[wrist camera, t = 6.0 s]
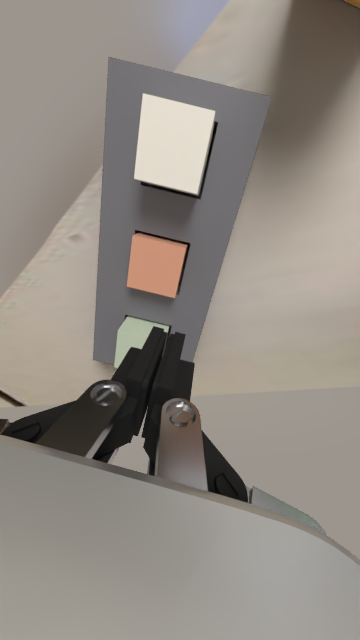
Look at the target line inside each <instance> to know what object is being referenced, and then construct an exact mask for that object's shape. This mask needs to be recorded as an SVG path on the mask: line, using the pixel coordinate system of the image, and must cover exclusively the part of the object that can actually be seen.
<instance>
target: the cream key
mask: <svg viewBox="0 0 360 640" xmlns="http://www.w3.org/2000/svg"><path fill="white" fill-rule="evenodd" d="M214 121H215V111H213V110H209V109H205V108H201V107H197V106H193V105H189V104H185V103H181V102H177V101H173V100H169V99H165V98H160V97H156V96H152V95H148V94H144V93H143V97H142V106H141V116H140V125H139V135H138V144H137V154H136V163H135V173H134V179H136V180H139V181H142V182H144V183H147V184H151V185H155V186H159V187H163V188H167V189H172V190H176V191H180V192H184V193H188V194H192V195H196V196H199V194H200V189H201V185H202V180H203V176H204V171H205V167H206V162H207V158H208V153H209V149H210V144H211V140H212V136H213V131H214Z"/></svg>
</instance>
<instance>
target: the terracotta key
mask: <svg viewBox="0 0 360 640" xmlns="http://www.w3.org/2000/svg"><path fill="white" fill-rule="evenodd" d="M188 245H189V243H187V242H183V241H179V240H175V239H171V238H167V237H163V236H159V235H154V234H150V233H146V232H139V233H137V234H135V235H133V236H132V244H131V253H130V262H129V271H128V279H127V287H131V288H135V289H139V290H143V291H147V292H151V293H156V294H160V295H164V296H168V297H172V298H175V296H176V294H177V291H178V288H179V285H180V280H181V276H182V272H183V267H184V263H185V258H186V254H187V249H188Z"/></svg>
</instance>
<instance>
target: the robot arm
mask: <svg viewBox="0 0 360 640" xmlns="http://www.w3.org/2000/svg"><path fill="white" fill-rule="evenodd" d="M185 336H186V334H183V333H179V332H175V334H170V337H169V339H168V342H167V345H166V348H165V351H164V346H165V342H166V337H167V332H164V329H163V328H159V327H156V326H153V328H152V330H151V332H150V334H149V336H148V338H147V340H146V342H145V343H144V345H143V347H142V349H139V348H135V347H131V348H130V349H129V351H128V352H127V354H126V356H125V357H124V359H123V360H122V362H121V364H120V365H119V367H118V369H117V370H116V372H115V374H114V375H113V377H112V379H111V380H101V381H98V382H96V383H94V384H92V385H91V386H90V387H89V388H88V389H87V390H86V391H85V392H84V393H83V394H82V395H81V396H80V397H79V398H78V399H77V400H76V401H73V402H70V403H67V404H64V405H60V406H58V407H54V408H51V409H49V410H45V411H42V412H39V413H36V414H33V415H30V416H27V417H24V418H21V419H19V420H17V421H15V422H13V423H10V422H9V420H8V419H0V640H360V560H359V559H358V558H357V557H356V556H355V555H353V554H352V553H351V552H350V551H348V550H347V549H345V548H344V547H343V546H341V545H340V544H338V543H337V542H335V541H334V540H333V539H331V538H330V537H328V536H327V535H326V533H325V531H324V529H323V528H322V527H321V526H320V525H319V524H318V522H317V521H316V520H314V519H313V518H312V517H310V516H309V515H307V514H305V513H304V512H302V511H300V510H298V509H296V508H294V507H292V506H290V505H288V504H286V503H284V502H283V501H280V500H279V499H277V498H275V497H273V496H271V495H269V494H267V493H266V492H264V491H262V490H260V489H258V488H256V487H254V486H253V487H252V489H251V488H249V487H247V486H245V484H244V482H243V481H242V479H241V478H240V476H239V475H238V474H237V473H236V471H235V470H234V469H233V468H232V467H231V465H230V464H229V463H228V462H227V461H226V459H225V458H224V457H223V456H222V454H221V453H220V452H219V451H218V449H217V448H216V447H215V446H214V445H213V443H211V441H210V440H209V439H208V437H207V436H206V435H205V434H204V432H203V431H202V430H201V422H200V415H199V411H198V409H197V408H196V407H195V405H193V404H192V403H191V402H190V396H191V388H192V380H193V373H194V363H192V362H189V361H185V360H181V359H180V358H181V353H182V349H183V345H184V340H185ZM163 351H164V354H163ZM162 355H163V357H162ZM147 407H148V409H147ZM146 410H147V414H146V418H145V423H144V428H143V432H142V437H143V438H145V443H144V446H143V447H144V449H145V451H146V453H147V454H148V456H149V463H148V471H147V474H144V473H140V472H137V471H133V470H129V469H126V468H122V467H119V466H115V465H111V463H112V461H113V459H114V458H115V456H116V454H117V452H118V448H119V447H121V446H123V445H125V444H127V443H131V440H132V437H133V435H135V436H138V434H139V431H140V428H141V425H142V422H143V419H144V416H145V413H146Z"/></svg>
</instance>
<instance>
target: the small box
mask: <svg viewBox="0 0 360 640" xmlns="http://www.w3.org/2000/svg"><path fill="white" fill-rule="evenodd" d="M343 1H345V2H348V3H350V4H352V5H354V6H356V7H358V8H360V0H343Z"/></svg>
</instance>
